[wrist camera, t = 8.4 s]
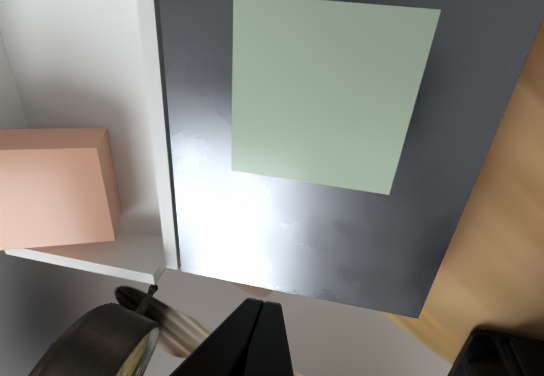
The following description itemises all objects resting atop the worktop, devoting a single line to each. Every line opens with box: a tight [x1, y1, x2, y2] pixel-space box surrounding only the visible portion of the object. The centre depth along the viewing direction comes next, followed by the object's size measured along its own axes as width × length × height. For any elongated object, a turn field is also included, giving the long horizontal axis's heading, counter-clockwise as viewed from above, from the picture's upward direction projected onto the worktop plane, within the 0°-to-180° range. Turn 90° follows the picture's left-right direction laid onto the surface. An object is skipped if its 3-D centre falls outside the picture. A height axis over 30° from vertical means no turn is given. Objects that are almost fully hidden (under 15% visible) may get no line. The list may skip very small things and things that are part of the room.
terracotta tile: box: [0, 128, 122, 250], centre depth 19 cm, size 6×6×3 cm
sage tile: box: [231, 0, 441, 195], centre depth 13 cm, size 6×6×3 cm
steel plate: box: [159, 0, 544, 318], centre depth 17 cm, size 16×14×3 cm
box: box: [0, 0, 181, 285], centre depth 18 cm, size 17×11×4 cm, turn 176°
